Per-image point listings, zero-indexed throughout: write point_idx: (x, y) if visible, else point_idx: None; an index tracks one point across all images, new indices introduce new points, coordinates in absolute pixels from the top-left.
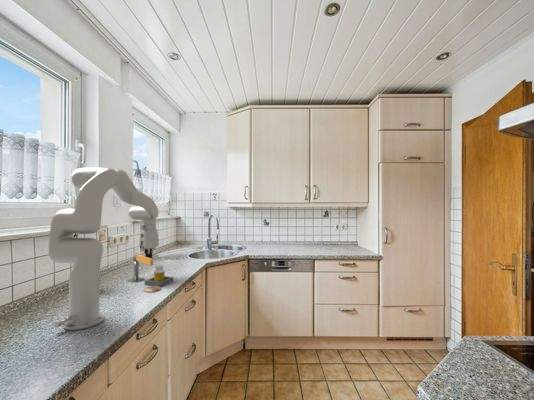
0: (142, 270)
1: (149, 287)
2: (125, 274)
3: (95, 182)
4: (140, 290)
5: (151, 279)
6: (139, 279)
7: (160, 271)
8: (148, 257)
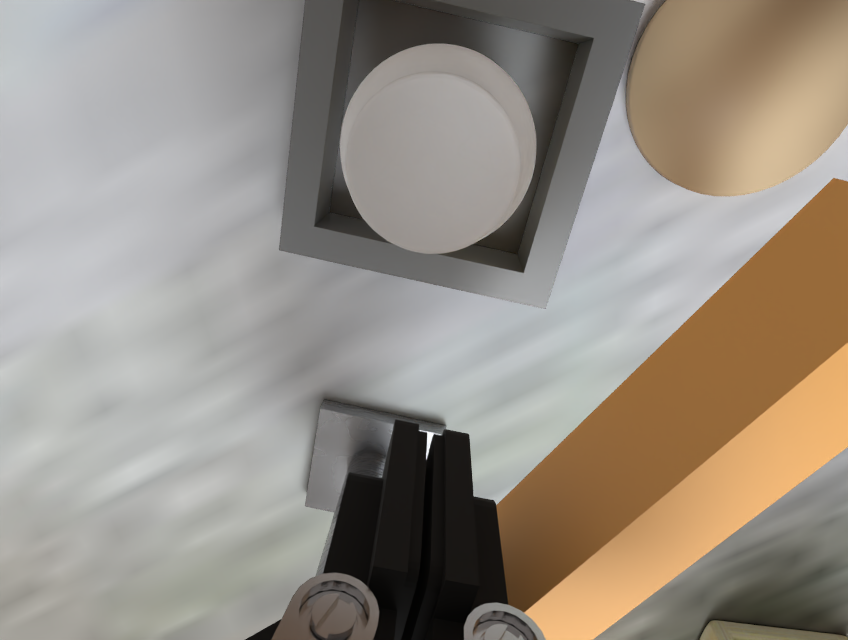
0: (24, 567)
1: (689, 153)
2: (206, 636)
3: None
4: (747, 232)
5: (459, 256)
6: (380, 432)
7: (513, 90)
8: (481, 528)
